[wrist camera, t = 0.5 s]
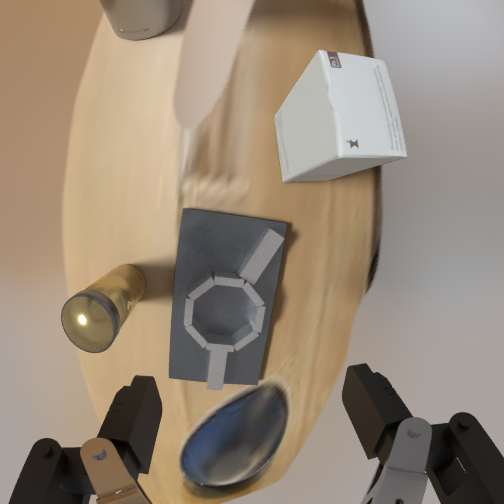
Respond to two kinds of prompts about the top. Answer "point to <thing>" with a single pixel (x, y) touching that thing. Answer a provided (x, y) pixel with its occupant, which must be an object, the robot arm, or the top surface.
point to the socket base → (223, 297)
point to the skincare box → (338, 119)
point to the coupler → (102, 308)
